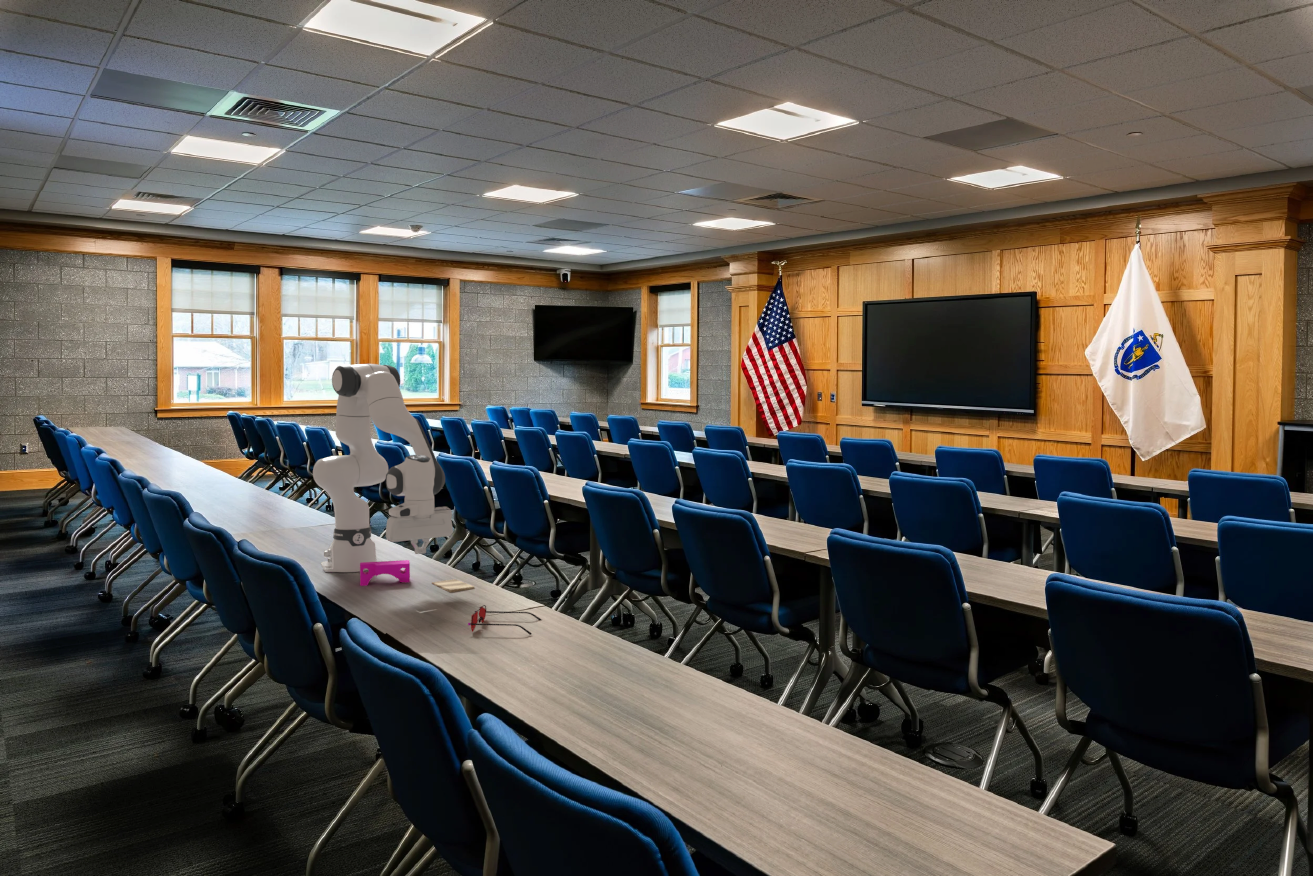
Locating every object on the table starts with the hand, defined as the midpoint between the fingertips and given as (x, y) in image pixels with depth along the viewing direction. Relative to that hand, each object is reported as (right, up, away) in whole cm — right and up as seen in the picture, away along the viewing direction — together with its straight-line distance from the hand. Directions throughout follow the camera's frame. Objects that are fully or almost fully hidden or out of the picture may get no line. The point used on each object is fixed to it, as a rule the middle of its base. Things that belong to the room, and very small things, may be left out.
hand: (420, 553), depth 272 cm
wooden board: (+8, -12, +7) cm, 16 cm away
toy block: (-14, -4, +10) cm, 18 cm away
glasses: (+33, -15, -39) cm, 53 cm away
